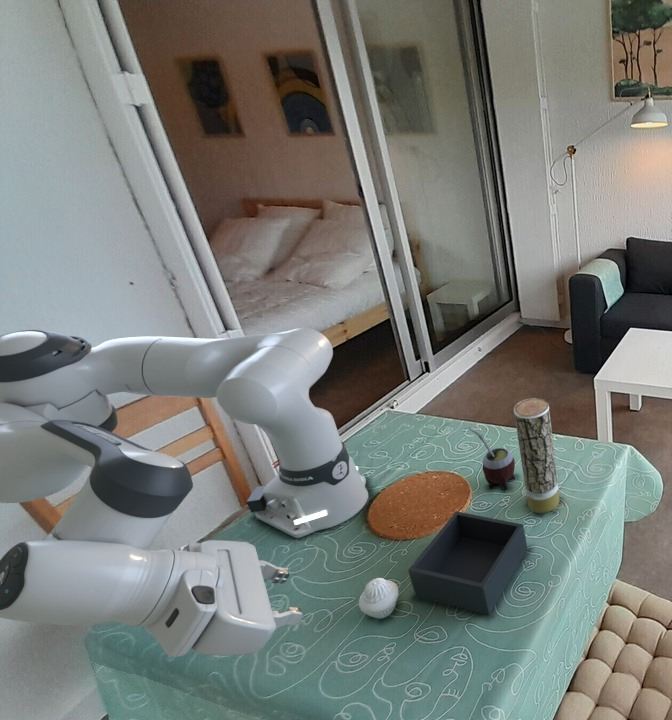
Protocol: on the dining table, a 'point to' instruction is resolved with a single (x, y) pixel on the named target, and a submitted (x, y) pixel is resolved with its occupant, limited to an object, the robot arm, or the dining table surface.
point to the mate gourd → (497, 465)
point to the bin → (469, 562)
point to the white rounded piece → (379, 598)
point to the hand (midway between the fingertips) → (292, 595)
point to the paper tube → (537, 454)
